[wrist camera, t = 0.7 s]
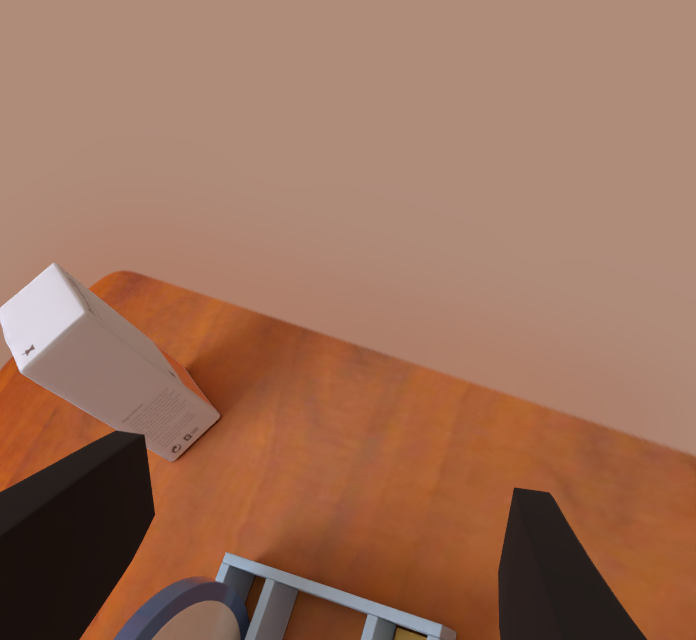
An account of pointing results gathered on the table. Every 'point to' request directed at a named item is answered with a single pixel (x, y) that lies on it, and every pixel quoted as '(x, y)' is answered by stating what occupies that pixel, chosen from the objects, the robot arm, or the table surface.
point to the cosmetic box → (103, 363)
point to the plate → (190, 613)
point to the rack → (285, 586)
